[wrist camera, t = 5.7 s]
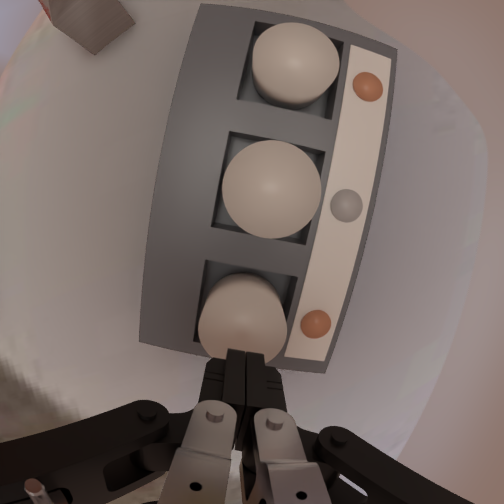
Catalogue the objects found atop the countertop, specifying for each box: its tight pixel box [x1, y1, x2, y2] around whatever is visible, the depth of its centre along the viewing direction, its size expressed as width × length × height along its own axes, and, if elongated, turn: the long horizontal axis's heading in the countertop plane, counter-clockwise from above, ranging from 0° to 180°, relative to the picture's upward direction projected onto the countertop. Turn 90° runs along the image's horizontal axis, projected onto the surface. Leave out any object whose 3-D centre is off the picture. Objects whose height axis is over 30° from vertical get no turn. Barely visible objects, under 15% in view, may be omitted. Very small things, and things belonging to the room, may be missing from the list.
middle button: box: [222, 140, 321, 239], centre depth 15 cm, size 4×4×3 cm
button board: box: [139, 4, 397, 373], centre depth 17 cm, size 21×12×3 cm, turn 169°
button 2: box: [252, 22, 339, 109], centre depth 15 cm, size 4×4×3 cm
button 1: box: [198, 273, 287, 363], centre depth 16 cm, size 4×4×3 cm
